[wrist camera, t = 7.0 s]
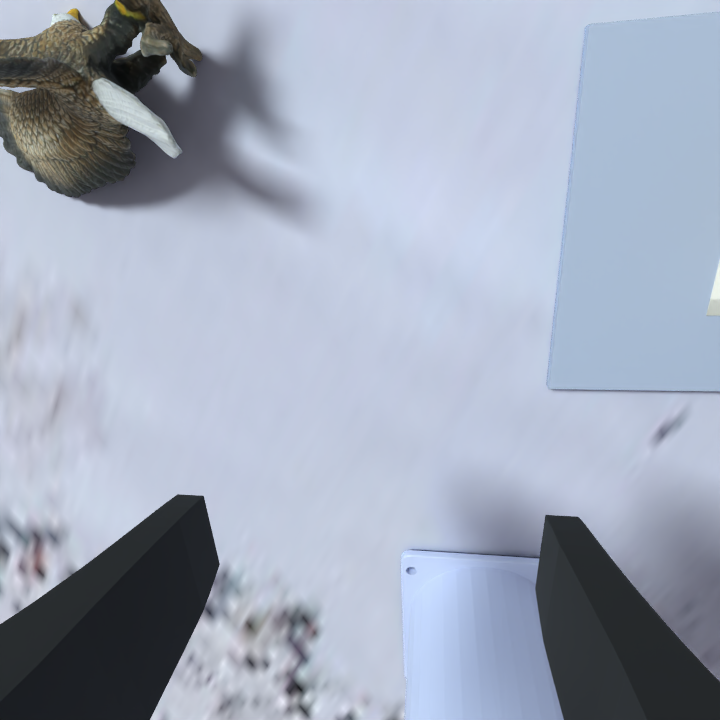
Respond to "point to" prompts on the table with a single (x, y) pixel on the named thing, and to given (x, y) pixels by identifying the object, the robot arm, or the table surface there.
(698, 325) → the board
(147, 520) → the robot arm
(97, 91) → the eagle figurine
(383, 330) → the table surface
